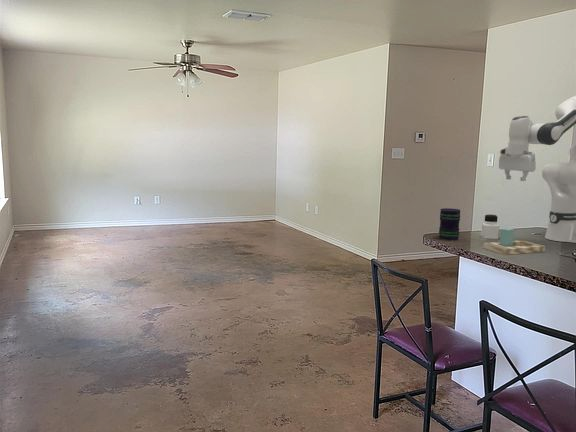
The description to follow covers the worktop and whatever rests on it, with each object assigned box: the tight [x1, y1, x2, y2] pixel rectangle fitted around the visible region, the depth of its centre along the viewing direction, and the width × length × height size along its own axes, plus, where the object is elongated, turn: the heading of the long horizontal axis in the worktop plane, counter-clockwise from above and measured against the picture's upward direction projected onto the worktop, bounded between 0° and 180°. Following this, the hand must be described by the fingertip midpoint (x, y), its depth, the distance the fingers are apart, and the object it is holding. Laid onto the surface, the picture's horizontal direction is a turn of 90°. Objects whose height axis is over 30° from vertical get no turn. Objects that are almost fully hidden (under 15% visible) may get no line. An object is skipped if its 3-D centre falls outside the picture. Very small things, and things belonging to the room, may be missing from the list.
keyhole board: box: [483, 239, 546, 256], centre depth 228 cm, size 22×14×2 cm, turn 108°
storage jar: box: [438, 207, 461, 241], centre depth 252 cm, size 10×10×15 cm
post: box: [499, 227, 515, 247], centre depth 226 cm, size 4×4×10 cm
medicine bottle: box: [480, 214, 500, 240], centre depth 255 cm, size 7×7×12 cm
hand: (515, 180), depth 236 cm, fingers open, 8 cm apart
